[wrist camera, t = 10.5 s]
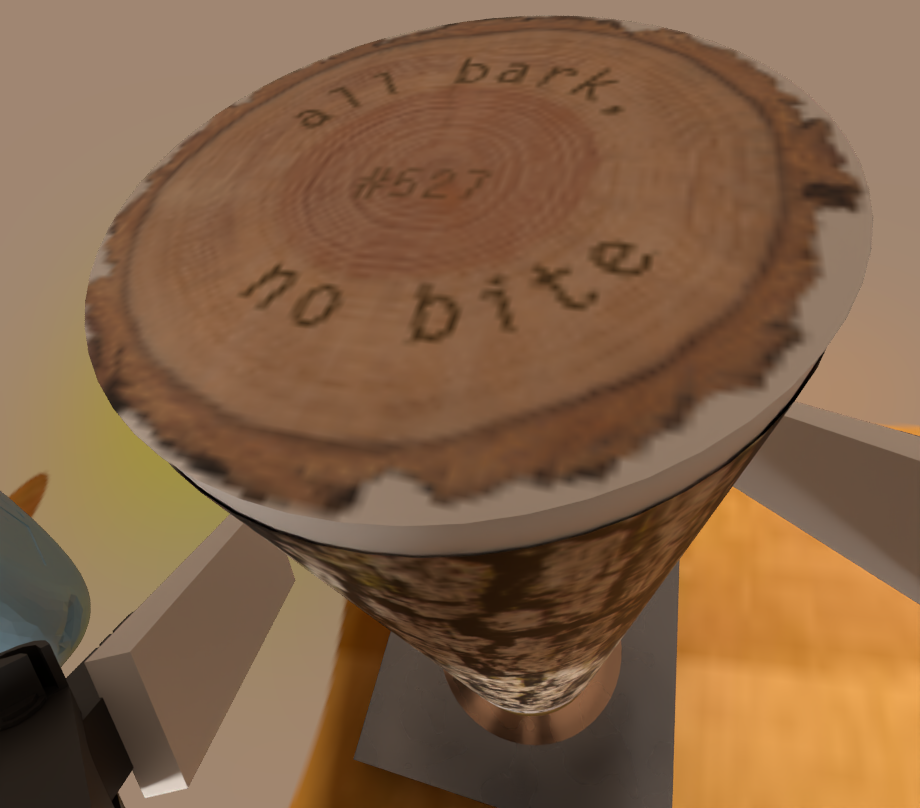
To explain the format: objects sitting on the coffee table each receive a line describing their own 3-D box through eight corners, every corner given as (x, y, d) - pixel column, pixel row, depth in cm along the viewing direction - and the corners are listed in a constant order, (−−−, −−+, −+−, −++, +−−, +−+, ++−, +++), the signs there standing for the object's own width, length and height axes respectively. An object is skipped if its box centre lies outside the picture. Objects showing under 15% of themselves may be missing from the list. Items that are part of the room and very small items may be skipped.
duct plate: (362, 757, 25) (352, 759, 24) (437, 495, 32) (432, 484, 31) (662, 857, 22) (671, 866, 20) (674, 539, 29) (681, 529, 27)
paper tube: (477, 555, 28) (287, 27, 7) (605, 585, 26) (827, -1, 6) (443, 693, 24) (-100, 426, 4) (587, 738, 23) (993, 685, 2)
